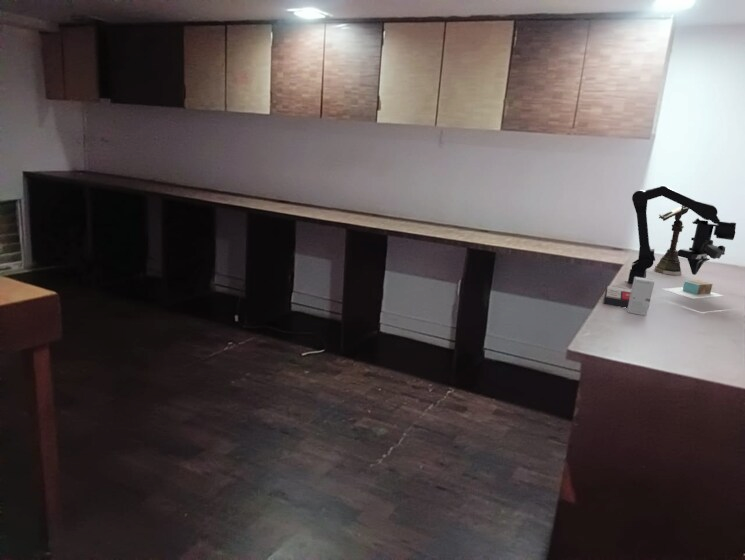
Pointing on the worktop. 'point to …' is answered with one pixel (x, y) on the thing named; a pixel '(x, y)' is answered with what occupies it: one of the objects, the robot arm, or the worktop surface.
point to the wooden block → (697, 287)
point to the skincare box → (640, 295)
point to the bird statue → (672, 244)
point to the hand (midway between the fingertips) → (694, 274)
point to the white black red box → (617, 296)
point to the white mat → (690, 295)
